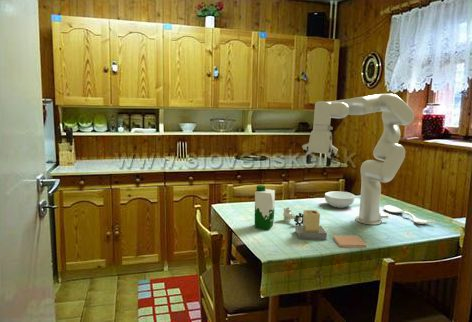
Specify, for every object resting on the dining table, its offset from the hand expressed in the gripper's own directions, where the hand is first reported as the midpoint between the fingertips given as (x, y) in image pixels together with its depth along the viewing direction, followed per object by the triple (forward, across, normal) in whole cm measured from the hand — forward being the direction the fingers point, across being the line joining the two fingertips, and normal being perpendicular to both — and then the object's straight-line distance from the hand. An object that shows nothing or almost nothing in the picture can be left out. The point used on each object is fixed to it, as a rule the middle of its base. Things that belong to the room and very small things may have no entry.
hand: (318, 165), depth 178 cm
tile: (+31, -20, +7) cm, 37 cm away
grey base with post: (+31, -3, +10) cm, 33 cm away
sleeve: (+28, -3, +10) cm, 30 cm away
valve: (+31, +12, -2) cm, 33 cm away
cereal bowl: (+30, +4, -47) cm, 56 cm away
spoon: (+29, -32, -48) cm, 65 cm away
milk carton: (+32, +19, +13) cm, 40 cm away
